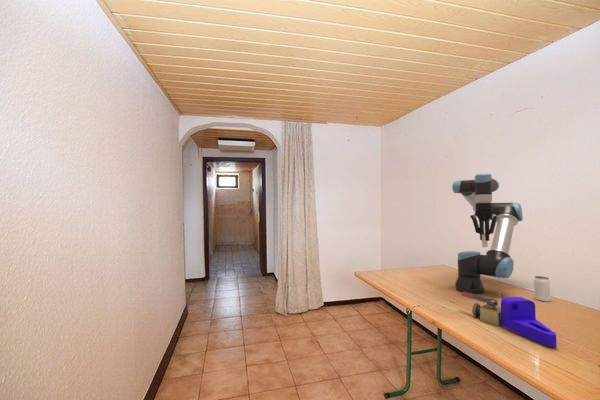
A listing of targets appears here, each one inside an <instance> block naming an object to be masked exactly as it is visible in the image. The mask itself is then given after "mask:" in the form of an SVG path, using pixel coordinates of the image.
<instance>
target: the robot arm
mask: <svg viewBox="0 0 600 400" xmlns="http://www.w3.org/2000/svg"><path fill="white" fill-rule="evenodd" d="M451 188H452V192H453V193H454V194H461V196H462V197H464V199H465V200H466V201H467V202H468V204H469V205H470V206H471V207H472V210H473V212H474V213H473V214H471V215H470V219H471V220H472V223H473V227H474V231H475V233H476V234H479V239H480V241H481V247H482V248H487V247H488V241H490V235H492V234H493V238H492V242H491V245H490V249H489V250H487V251H486V253H485V254H481V252H480V251H476V250H475V251H474V250H473V251H471V250H470V251H461V252H458V254H457V278H456V281H455V284H454V289H455V288H456V289H455V290H457V291H459V292H461V293H462V292H468V293H472V294H475V295H478V294H479V295H480V294H484V293H485V286H484V284H483V283H484V282H483V281H482V277H481V275H482V276H488V277H493V278H498V279H500V278H501V279H509V278H510V277H511V276H512V274H513V271H514V263H515V262H514V259H513V258H512V257H511V255H510V254H509V252H510V247H511V243H512V238H513V232H514V228H515V226H517V225H518V223H519V222H522V221H523V220H524V218H523V217H524V215H523V209H522V205H521V204H520V203H519V202H513V201H511V202H493V193H494V192H496V191H497V190H498V189H499V188H500V183H499V181H497V179H494V178H493V177H492V174H491V173H488V172H487V173H477V174H475V176H474V179H464V180H461V179H460V180H455V181H454V182H453V183H452V185H451ZM490 221H491V223H490ZM478 222H479V223H478Z"/></svg>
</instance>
